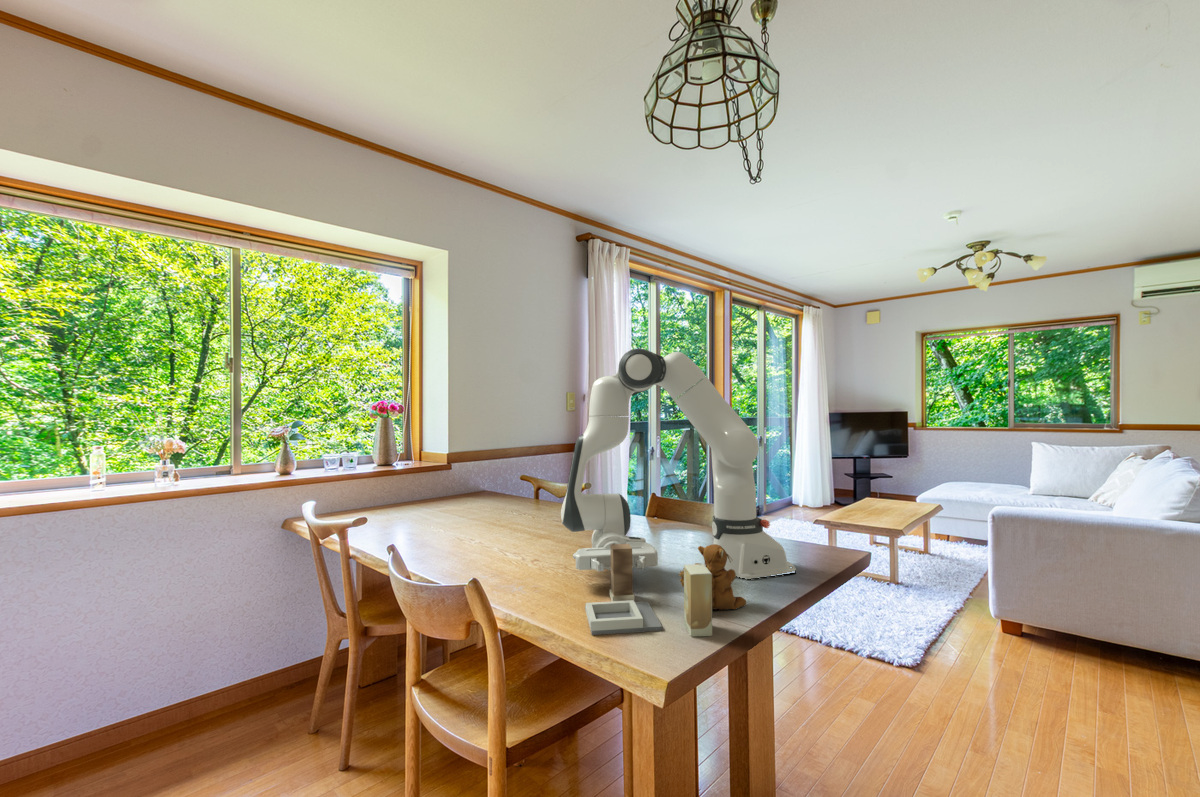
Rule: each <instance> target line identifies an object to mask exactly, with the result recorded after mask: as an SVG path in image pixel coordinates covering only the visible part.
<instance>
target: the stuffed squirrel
mask: <svg viewBox="0 0 1200 797" xmlns="http://www.w3.org/2000/svg"><path fill="white" fill-rule="evenodd" d="M697 550H698V551H699V553H700V554H701V556H702V557H703V560H704V565H705V567H706V568H707V569H708V570H709V571H710V572H711V574H712V611H713V610H717V609H719V610H718V611H726V610H725V609H734V610H737V609H736V608H738V609H740V608H739V607H741V608H743V607H745V606H746V605H747V600H746V599H745V598H744V597H742V596H734V590H733V587H732V584H733V581H735V579H736V578H737V577H736V573H735V571H734V570H732V569H730V570H728V571H726V570H725V568H724V567H725V565H726V561H727V557H728V559H729V557H730V556H729V555H728V554H727V553H726V551H725V550H724V549H723V548H722V547H721V546H720V545H716V544H710V545H709V544H708V545H707V546H705V547H704V546H702V545H699V546H698V548H697ZM730 558H731V557H730ZM731 560H732V558H731ZM729 561H730V559H729ZM732 561H733V560H732ZM730 563H731V561H730ZM696 564H700V562H697V563H696V562H695V563H694V564H693V565H696ZM677 575H678V576H679V577H681V578H680V579H678V580H679V582H680V585H681V586H682V587H683V588H684V567H683V570H680V572H679V573H678V574H677ZM744 605H745V606H744ZM742 606H743V607H742ZM723 609H724V610H723Z"/></svg>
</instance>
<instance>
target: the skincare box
mask: <svg viewBox="0 0 1200 797" xmlns="http://www.w3.org/2000/svg"><path fill="white" fill-rule="evenodd" d="M695 564H696V563H695ZM705 566H706V565H705V563H699V564H696V565H694V564H684V565H683V568H684V587H683V625H684V627H685V629H686V631H687V632H688V634H689V636H690V637H693V638H694V637H712V636H713V610H712V574H711V572H710V571H709V570H708V569H707V568H706V567H705Z"/></svg>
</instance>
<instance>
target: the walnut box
mask: <svg viewBox="0 0 1200 797" xmlns="http://www.w3.org/2000/svg"><path fill="white" fill-rule="evenodd" d="M610 554H611V570H610V588H609V597H610V599H611V601H628V600H634V601H635V593H634V589H633V588H634V587H633V586H634V584H633V581H634V580H633V577H634V576H633V568H632V548H631V546H630V545H629V544H611V545H610Z"/></svg>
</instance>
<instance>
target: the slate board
mask: <svg viewBox="0 0 1200 797" xmlns="http://www.w3.org/2000/svg"><path fill="white" fill-rule="evenodd" d="M584 609H585V613H586V614H585V615H586V617H587V622H588V626H589V629H590V632H591V633H590V634H591V635H592V636H599V635H600V636H601V635H613V634H629V633H643V632H644V633H645V632H660V631H663V625H662V624H661V622H660V620H659V619H658V617H657V615H656V614H655V612H654V610H653V608H652V606H651V605H650V603H649V601H645V600H644V601H635V599H634V600H628V601H612V600H611V601H598V602H597V601H596V602H585V605H584Z"/></svg>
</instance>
